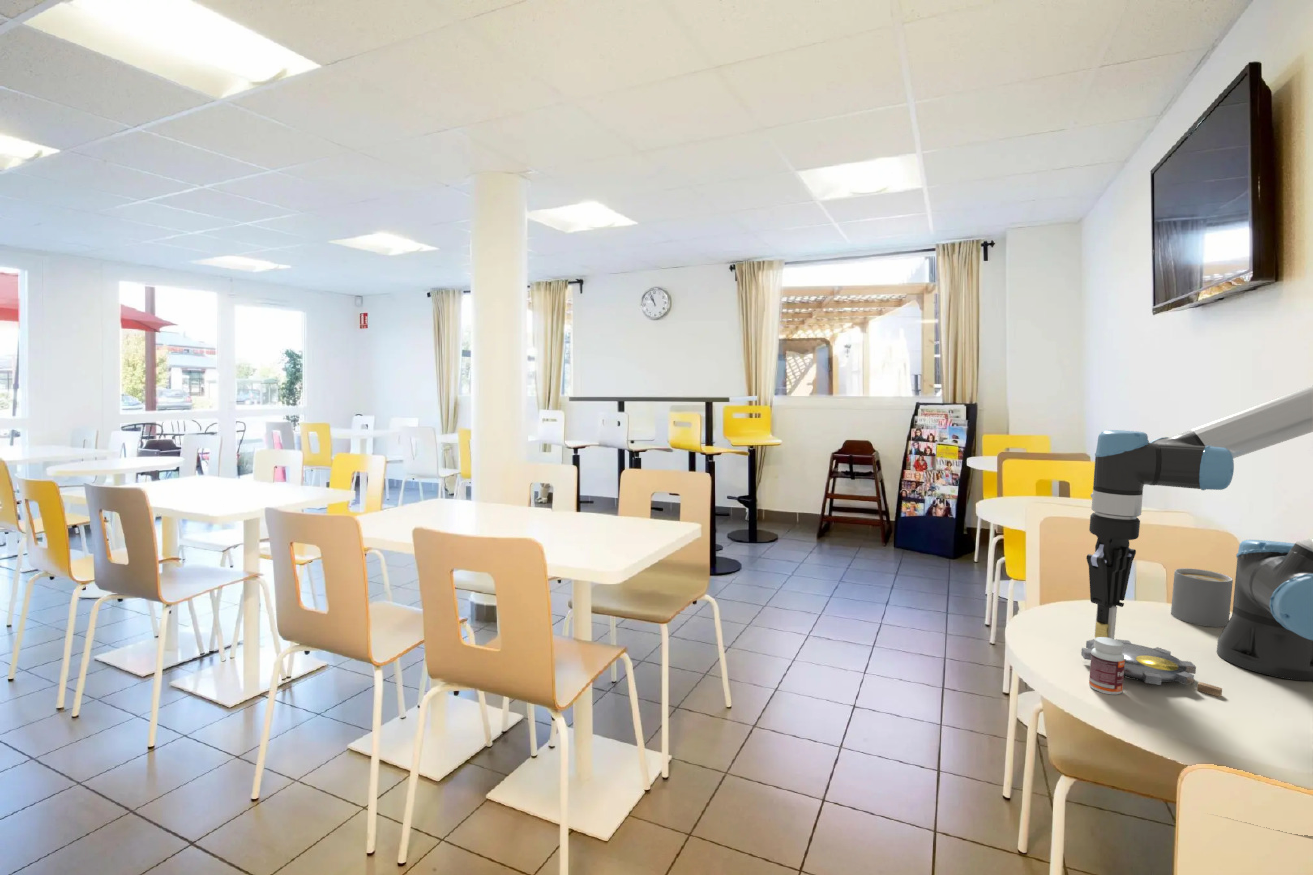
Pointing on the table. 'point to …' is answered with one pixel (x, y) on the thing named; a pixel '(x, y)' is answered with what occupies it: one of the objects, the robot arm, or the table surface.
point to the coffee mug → (1201, 597)
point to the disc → (1147, 661)
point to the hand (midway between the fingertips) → (1104, 638)
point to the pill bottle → (1107, 666)
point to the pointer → (1209, 689)
